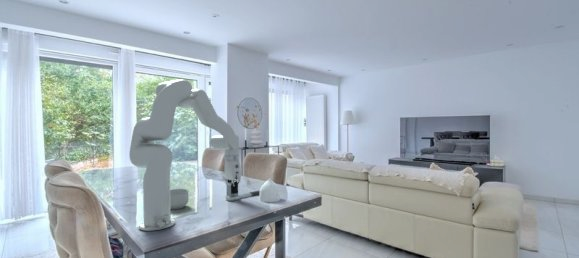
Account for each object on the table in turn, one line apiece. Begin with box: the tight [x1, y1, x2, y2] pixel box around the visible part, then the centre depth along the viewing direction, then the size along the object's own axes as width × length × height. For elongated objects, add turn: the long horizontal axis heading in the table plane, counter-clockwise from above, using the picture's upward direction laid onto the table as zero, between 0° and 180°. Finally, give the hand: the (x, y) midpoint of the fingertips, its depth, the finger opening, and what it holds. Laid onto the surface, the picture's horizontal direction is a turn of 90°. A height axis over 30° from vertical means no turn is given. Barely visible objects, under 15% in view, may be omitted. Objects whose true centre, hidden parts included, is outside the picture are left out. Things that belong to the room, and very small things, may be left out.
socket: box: [226, 181, 239, 197], centre depth 148 cm, size 4×4×7 cm
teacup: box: [170, 188, 189, 210], centre depth 134 cm, size 14×11×8 cm
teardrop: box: [258, 177, 281, 203], centre depth 147 cm, size 11×11×12 cm
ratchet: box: [225, 189, 260, 202], centre depth 153 cm, size 7×23×5 cm, turn 132°
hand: (232, 192), depth 148 cm, fingers open, 4 cm apart
